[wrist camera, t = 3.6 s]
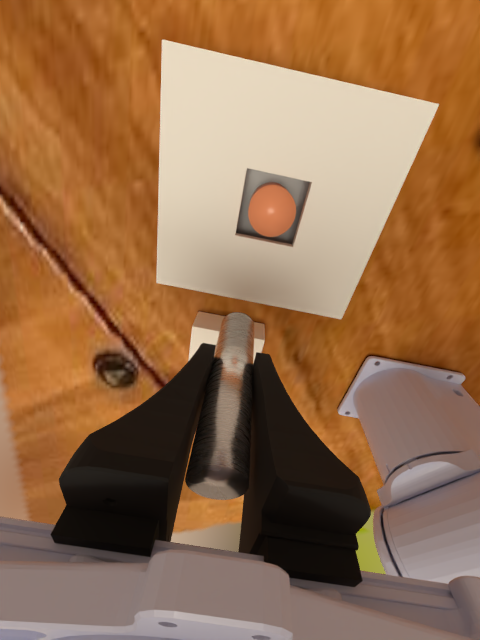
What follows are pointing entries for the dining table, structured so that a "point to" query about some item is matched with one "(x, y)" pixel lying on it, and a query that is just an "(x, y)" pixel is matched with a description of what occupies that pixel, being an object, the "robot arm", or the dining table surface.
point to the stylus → (225, 416)
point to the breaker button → (271, 206)
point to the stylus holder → (209, 328)
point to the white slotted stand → (282, 159)
